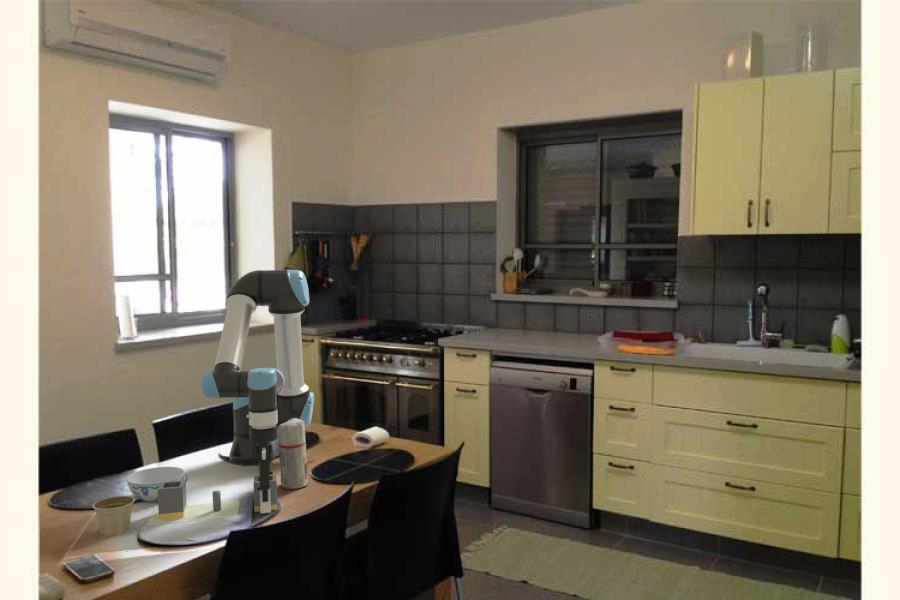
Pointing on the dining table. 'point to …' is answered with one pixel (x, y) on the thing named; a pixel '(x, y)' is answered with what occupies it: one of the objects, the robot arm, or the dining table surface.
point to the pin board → (201, 511)
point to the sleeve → (272, 492)
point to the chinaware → (152, 481)
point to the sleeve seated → (172, 499)
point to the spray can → (293, 454)
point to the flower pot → (114, 514)
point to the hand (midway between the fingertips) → (266, 506)
